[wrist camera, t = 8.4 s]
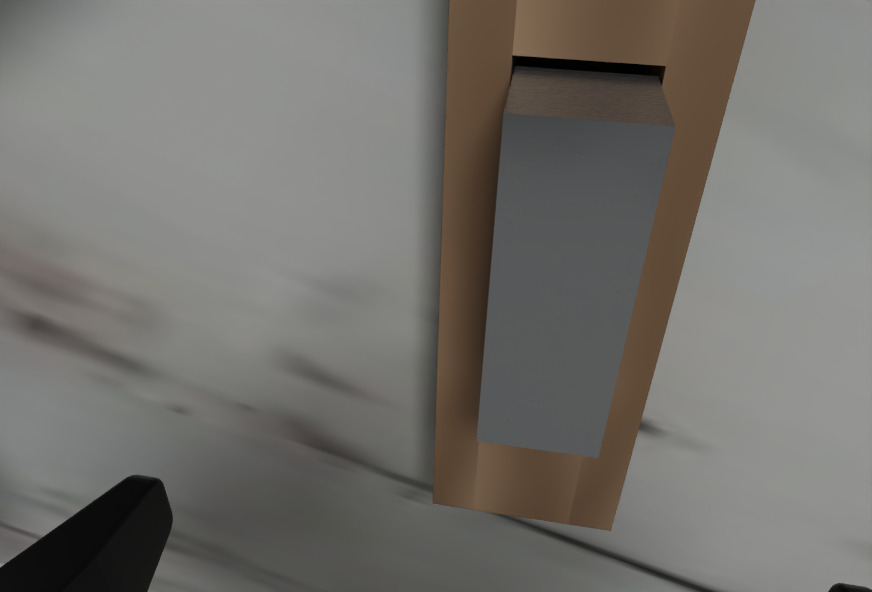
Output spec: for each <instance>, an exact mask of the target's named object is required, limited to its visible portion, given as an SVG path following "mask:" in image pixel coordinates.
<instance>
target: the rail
mask: <svg viewBox="0 0 872 592" xmlns="http://www.w3.org/2000/svg"><path fill="white" fill-rule="evenodd" d="M754 4H755V0H449V27H448V57H447V88H446V118H445V149H444V179H443V209H442V240H441V270H440V301H439V331H438V362H437V392H436V423H435V453H434V484H433V504H439V505H446V506H452V507H459V508H466V509H472V510H479V511H485V512H492V513H498V514H505V515H511V516H518V517H524V518H531V519H537V520H544V521H550V522H557V523H563V524H570V525H576V526H583V527H589V528H596V529H602V530H609V531H611V528H612V525H613V521H614V517H615V514H616V510H617V506H618V503H619V499H620V495H621V492H622V488H623V484H624V481H625V477H626V473H627V470H628V466H629V462H630V459H631V455H632V451H633V448H634V444H635V440H636V437H637V433H638V429H639V425H640V422H641V418H642V414H643V411H644V407H645V403H646V400H647V396H648V392H649V389H650V385H651V381H652V378H653V374H654V370H655V367H656V363H657V359H658V356H659V352H660V348H661V345H662V341H663V337H664V334H665V330H666V326H667V323H668V319H669V315H670V312H671V308H672V304H673V301H674V297H675V293H676V290H677V286H678V282H679V279H680V275H681V271H682V268H683V264H684V260H685V257H686V253H687V249H688V246H689V242H690V238H691V235H692V231H693V227H694V224H695V220H696V216H697V213H698V209H699V205H700V202H701V198H702V194H703V191H704V187H705V183H706V180H707V176H708V172H709V169H710V165H711V161H712V158H713V154H714V150H715V147H716V143H717V139H718V136H719V132H720V128H721V125H722V121H723V117H724V114H725V110H726V106H727V103H728V99H729V95H730V92H731V88H732V84H733V81H734V77H735V73H736V70H737V66H738V62H739V59H740V55H741V51H742V48H743V44H744V40H745V37H746V33H747V29H748V26H749V22H750V18H751V15H752V11H753V7H754ZM518 56H530V57H544V58H559V59H573V60H587V61H602V62H616V63H630V64H645V65H646V67H645V72H644V75H648V76H658V77H659V80H660V83H661V86H662V89H663V91H664V94H665V97H666V100H667V103H668V106H669V109H670V111H671V114H672V117H673V120H674V123H675V126H676V128H675V132H674V136H673V141H672V145H671V149H670V154H669V158H668V162H667V166H666V171H665V175H664V179H663V183H662V188H661V192H660V196H659V201H658V205H657V209H656V213H655V218H654V222H653V226H652V231H651V235H650V239H649V243H648V248H647V252H646V256H645V261H644V265H643V269H642V273H641V278H640V282H639V286H638V291H637V295H636V299H635V303H634V308H633V312H632V316H631V321H630V325H629V329H628V333H627V338H626V342H625V346H624V351H623V355H622V359H621V363H620V368H619V372H618V376H617V381H616V385H615V389H614V393H613V398H612V402H611V406H610V411H609V415H608V419H607V423H606V428H605V432H604V436H603V441H602V445H601V449H600V453H599V458H593V457H586V456H579V455H572V454H565V453H558V452H551V451H544V450H537V449H530V448H522V447H515V446H508V445H501V444H494V443H487V442H480V441H477V429H478V417H479V405H480V393H481V381H482V369H483V357H484V345H485V333H486V320H487V308H488V296H489V284H490V272H491V260H492V248H493V236H494V224H495V212H496V199H497V187H498V175H499V163H500V151H501V139H502V127H503V115H504V109H505V105H506V101H507V97H508V93H509V89H510V85H511V81H512V77H513V73H514V69H515V66H517V64H518Z"/></svg>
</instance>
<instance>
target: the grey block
mask: <svg viewBox="0 0 872 592" xmlns="http://www.w3.org/2000/svg"><path fill="white" fill-rule="evenodd" d="M675 128H676V126H675V123H674V120H673V117H672V114H671V111H670V109H669V106H668V103H667V100H666V97H665V94H664V91H663V89H662V86H661V83H660V80H659V77H658V76H648V75H634V74H620V73H606V72H592V71H578V70H564V69H550V68H536V67H522V66H515V69H514V73H513V77H512V81H511V85H510V89H509V93H508V97H507V101H506V105H505V109H504V115H503V127H502V139H501V151H500V163H499V175H498V187H497V199H496V212H495V224H494V236H493V248H492V260H491V272H490V284H489V296H488V308H487V320H486V333H485V345H484V357H483V369H482V381H481V393H480V405H479V417H478V429H477V441H480V442H487V443H494V444H501V445H508V446H515V447H522V448H530V449H537V450H544V451H551V452H558V453H565V454H572V455H579V456H586V457H593V458H599V453H600V449H601V445H602V441H603V436H604V432H605V428H606V423H607V419H608V415H609V411H610V406H611V402H612V398H613V393H614V389H615V385H616V381H617V376H618V372H619V368H620V363H621V359H622V355H623V351H624V346H625V342H626V338H627V333H628V329H629V325H630V321H631V316H632V312H633V308H634V303H635V299H636V295H637V291H638V286H639V282H640V278H641V273H642V269H643V265H644V261H645V256H646V252H647V248H648V243H649V239H650V235H651V231H652V226H653V222H654V218H655V213H656V209H657V205H658V201H659V196H660V192H661V188H662V183H663V179H664V175H665V171H666V166H667V162H668V158H669V154H670V149H671V145H672V141H673V136H674V132H675Z"/></svg>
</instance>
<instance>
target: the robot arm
mask: <svg viewBox="0 0 872 592" xmlns="http://www.w3.org/2000/svg"><path fill="white" fill-rule="evenodd" d="M172 522H173V516H172V511H171V507H170V504H169V501H168V497H167V494H166V491H165V487H164V484H163V482H162V481H161V480H160V479H159V478H155V477H149V476H142V475H132V476H129V477H127V478H126V479H124V480H123V481H121V482H120V483H118V484H117V485H116V486H114V487H113V488H111V489H110V490H109V491H107V492H106V493H104V494H103V495H102V496H100V497H99V498H97V499H96V500H94V501H93V502H92V503H90V504H89V505H87V506H86V507H85V508H83V509H82V510H80V511H79V512H78V513H76V514H75V515H73V516H72V517H71V518H69V519H68V520H66V521H65V522H64V523H62V524H61V525H59V526H58V527H57V528H55V529H54V530H52V531H51V532H50V533H48V534H47V535H45V536H44V537H43V538H41V539H40V540H38V541H37V542H36V543H34V544H33V545H31V546H30V547H28V548H27V549H26V550H24V551H23V552H21V553H20V554H19V555H17V556H16V557H14V558H13V559H12V560H10V561H9V562H7V563H6V564H5V565H3V566H2V567H1V568H0V592H147V591H148V589H149V586H150V583H151V581H152V578H153V576H154V573H155V570H156V568H157V565H158V563H159V560H160V557H161V555H162V552H163V550H164V547H165V544H166V542H167V539H168V537H169V534H170V531H171V527H172ZM828 592H872V590H871V589H869V588H866V587H862V586H856V585H849V584H843V583H837V584H835V585H833V586H832V587H831V588H830V590H829V591H828Z"/></svg>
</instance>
